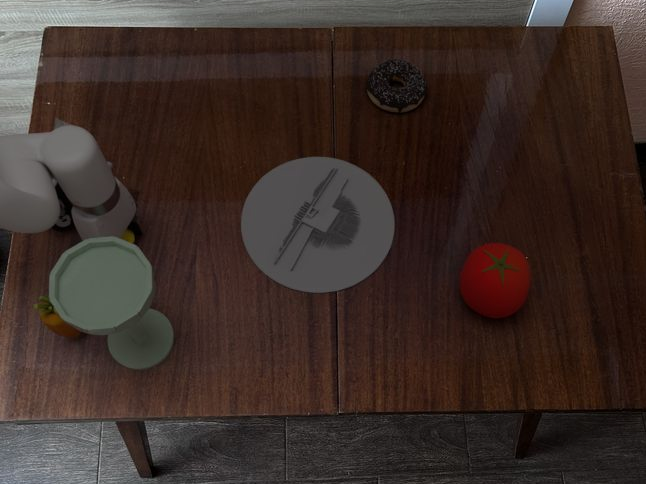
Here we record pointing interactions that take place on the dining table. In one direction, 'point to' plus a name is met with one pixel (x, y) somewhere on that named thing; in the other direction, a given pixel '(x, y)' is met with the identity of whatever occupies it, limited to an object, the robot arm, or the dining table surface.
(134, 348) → the stand
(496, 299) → the tomato
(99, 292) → the platter
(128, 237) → the light bulb
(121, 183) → the robot arm
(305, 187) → the plate
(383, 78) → the donut
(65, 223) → the beverage can
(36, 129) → the dining table surface
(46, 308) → the carrot
